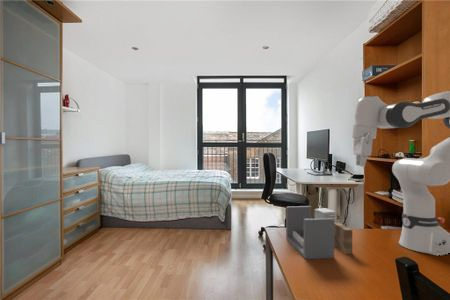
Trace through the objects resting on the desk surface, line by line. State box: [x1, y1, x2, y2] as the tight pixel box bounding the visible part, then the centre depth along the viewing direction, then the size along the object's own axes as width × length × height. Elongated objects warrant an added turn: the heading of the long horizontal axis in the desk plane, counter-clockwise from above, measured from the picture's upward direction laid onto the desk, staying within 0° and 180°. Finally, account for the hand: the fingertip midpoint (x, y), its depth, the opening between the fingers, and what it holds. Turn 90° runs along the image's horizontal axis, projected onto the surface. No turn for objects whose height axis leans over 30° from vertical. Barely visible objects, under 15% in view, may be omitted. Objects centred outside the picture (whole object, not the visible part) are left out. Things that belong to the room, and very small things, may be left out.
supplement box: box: [314, 207, 337, 221], centre depth 124 cm, size 7×7×13 cm
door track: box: [285, 205, 335, 260], centre depth 109 cm, size 22×12×16 cm, turn 5°
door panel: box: [334, 221, 353, 255], centre depth 108 cm, size 12×3×10 cm, turn 5°
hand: (360, 165), depth 106 cm, fingers open, 8 cm apart
